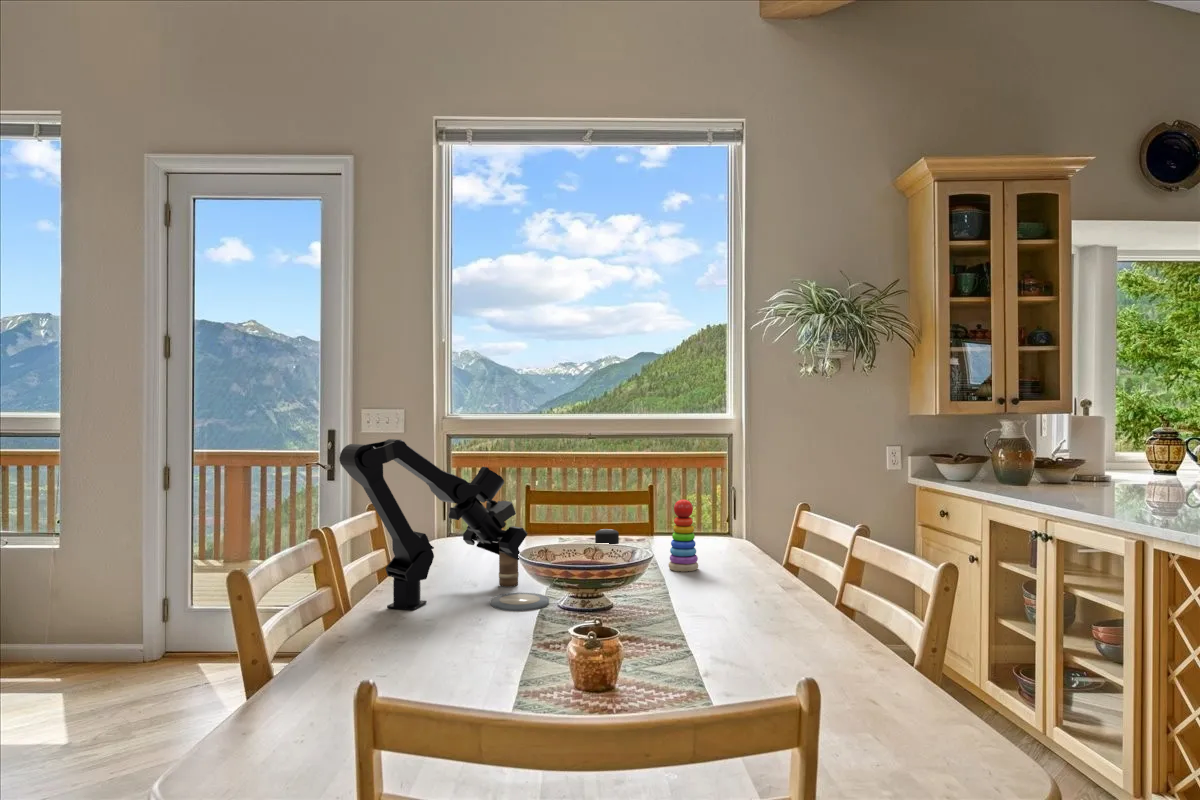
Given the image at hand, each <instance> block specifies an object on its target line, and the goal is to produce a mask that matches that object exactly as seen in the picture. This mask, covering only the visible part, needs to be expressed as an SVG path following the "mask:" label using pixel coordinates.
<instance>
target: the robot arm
mask: <svg viewBox="0 0 1200 800" xmlns="http://www.w3.org/2000/svg"><path fill="white" fill-rule="evenodd" d="M391 461H394V462H396V464H399V465H400V466H401V467H402V468H404V469H406V470H407V471H408V472H410V473H411V474H412V475H414V476H416V477H417V478H418V479H420V480H421V481H422V482H424V483H425V484H426V485H427V486H428V488H429V490H430V491H431V493H433V495H435V497H436V498H438V500H439V501H441V502H445V503H450V504H451V503H452V504H455V505H454V506H453V507H449V513H448V518H449V519H450V520H457V521H459V520H460V519H462V520H463V522H465V524H466V525H467V527H466V530H465V531H464V532H463V534H462V540H463V541H464V542H465V543H466V544H467V545H470V546H475V544H476V548H479V549H483V550H484V551H485V550H486V551H487V552H490V553H493V554H495V555H499V552H501V553H503V554H506V555H508V556H510V557H512V558H514V559H517V560H518V561H520V559H519V558H518V554H519V553H520V549H519V548H520V546H521V545H522V544H523V542H524V540H525V539H526V538H527V536H528V532H527V530H525V528H524V527H519V526H509V527H508V528H507V529H506V530H504V529H503V528H505V527H506V526H507V523H506V521H507V520H509V519H511V518H512V517H514V516H515V515H517V512H516V510H515V507H514V504H513V502H512V501H507V500H497V501H496V500H494V498H495V496H496V495H497V494H498V492H499V491H500V489H501V488H502V487H503V486H504V484H505V480H504V478H503V477H502V476H501V475H499V474H497V472H495V471H493V470H491V469H490V468H489V467H488V466H481V468H480V469H478V470H479V471H478V472H477V474H475V476H474V478H473V479H472V480H471V482H468V481H467V480H466V479H465V478H462V477H459V476H458V475H456V474H453V473H450V472H447V471H444V470H442V469H441V468H439V467H438V466H437V465H435V464H434V463H433V462H431V461H430V460H428V458H426V457H424V456H423V455H422V454H420V453H419V452H418V451H416V450H415V449H413V448H412V447H411V446H409V445H408V444H407V443H406V441H404V440H402V439H397V438H389V439H386V440H384V441H383V440H382V441H379V442H372V443H367V444H363V443H350V444H347V445H346V446H344V447H343V448H342V450H341V452H340V455H339V462H340V465H341V466H342V468H343V469H344V470H345V471H346V472H347V474H348V475H349V476H350V477H351V478H352V479H353V480H354V481H356V483H358V484H360V486H361V487H362V488H363V490H364V491H365V493H366V495H367V496H368V498H369V500H370V502H371V504H372V506H373V507H374V509H375V511H376V514H378V516H379V517H380V520H381V522H382V523H383V525H384V527H385V528H386V530H387V532H388V534H389V535H390V537H391V540H392V541H391V542H392V543H391V544H392V552H393V558H392V559H391V560H390V562H389V563H388V564H387V565H386V567H385V572H386V575H387V577H389V578H393V580H392V581H393V582H392V583H393V587H392V588H393V592H392V594H393V601H392V603H390V604H387V606H386V608H387V609H396V610H408V611H413V610H416V609H418V608H420V607H421V606H423V605H426V604H427V600H422V599H421V581H424V580H427V578H428V576H429V571H430V568H431V566H432V564H433V562H434V558H435V553H434V551H433V550H434V549H435V547H434V546H433V545H432V544H431V543H430V540H429V538H428V536H427V534H426V533H424V532H419V531H414V530H413V529H412V527H411V525H410V523H409V521H408V519H407V517H406V516H405V514H404V513H403V511H402V509H401V506H400V505H399V503H398V501H397V500H396V498H395V495H394V494H393V492H392V490H391V489H390V487H389V484H387V482H386V480H385V477H384V464H388V463H389V462H391ZM483 503H486V504H485V505H483ZM499 547H500V550H499ZM520 554H521V553H520Z"/></svg>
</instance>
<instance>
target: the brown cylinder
mask: <svg viewBox="0 0 1200 800" xmlns="http://www.w3.org/2000/svg"><path fill="white" fill-rule="evenodd" d="M499 550H500V547H499ZM498 559H499V560H498V561H499V562H498V565H499V567H498V568H499V569H498V581H499V582H498V585H499V586H500V587H504V588H511V587H517V586H518V585H519V575H520V574H519V560H517V559H514V558H512V557H510V556H508V555H506V554H503V553H501V552H499V557H498Z"/></svg>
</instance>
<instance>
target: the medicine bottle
mask: <svg viewBox="0 0 1200 800" xmlns="http://www.w3.org/2000/svg"><path fill="white" fill-rule="evenodd" d="M594 533H595V534H594V535H595V536H594V539H595V540H594V544H595V543H609V544H619V545H620V543H619V542H620V541H619V540H620V539H619V537H620V534H619V531H618V530H616V529H611V528H610V529H608V528H603V529H599V530H596V531H595V532H594Z"/></svg>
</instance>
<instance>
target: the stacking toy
mask: <svg viewBox="0 0 1200 800" xmlns="http://www.w3.org/2000/svg"><path fill="white" fill-rule="evenodd" d="M673 505H674V506H673V512H674V514H675V515H676V517H675V518H674V519H673V523H674V524H675V525H674V526H673V533H672V536H671V537H672V540H671V541H670V545H671V547H670V550H669V552H670V555H669V563H668V568H669V569H670V570H671V571H674V572H679V571H681V572H682V573H686V572H688V571H689V572H694V571H697V570H698V568H699V563H698V560H699V559H698V558H699V557H698V555H697V548H696V547H695V546H696V545H697V544H696V541H695V540H694V539H695V537H696V536H695V533H694V531H695V527H694V526H693V521H694V520H693V519H692V517H690V516H691V515H692V514H693V512H694V507H693V504H692V503H691V502H690V501H689V500H688V499H679V500H677V501H676V502H675V504H673Z"/></svg>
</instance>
